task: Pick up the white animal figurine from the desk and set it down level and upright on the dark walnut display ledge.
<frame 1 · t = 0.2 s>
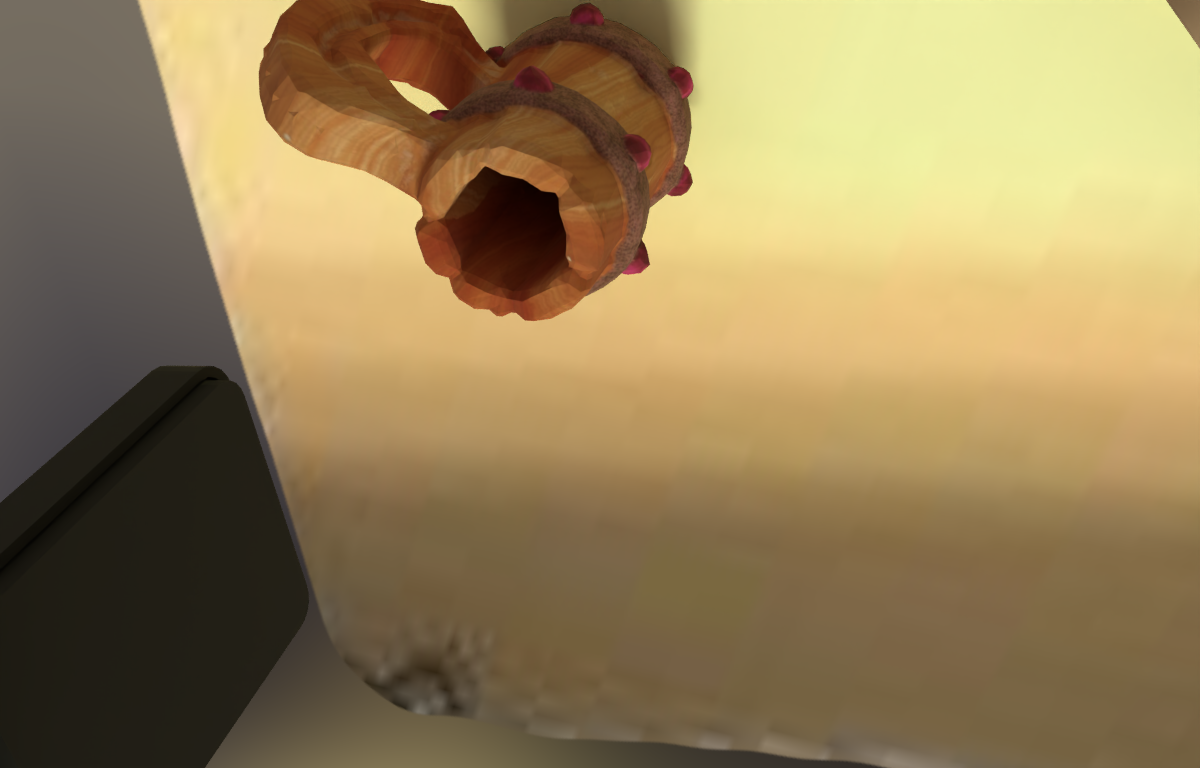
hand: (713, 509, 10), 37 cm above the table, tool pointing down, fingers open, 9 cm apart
mug: (558, 60, 47), on the table
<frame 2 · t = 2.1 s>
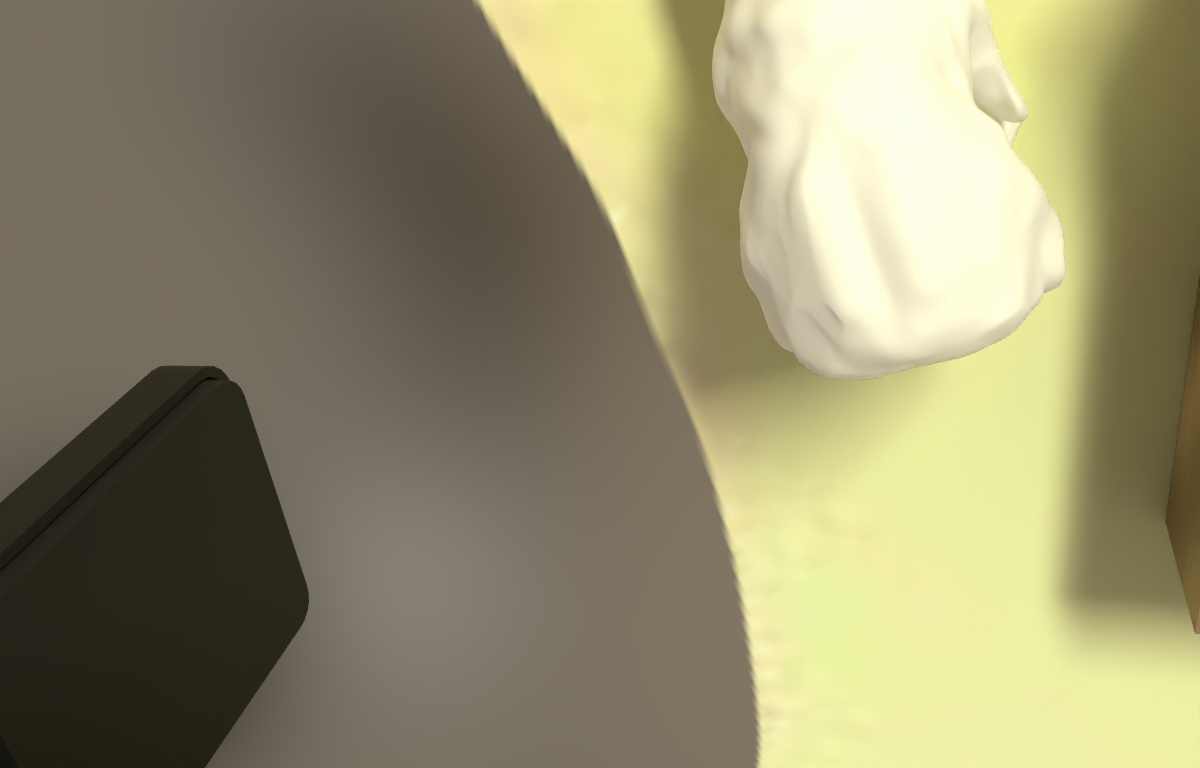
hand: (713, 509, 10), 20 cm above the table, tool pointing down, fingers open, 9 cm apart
white animal figurine: (857, 17, 27), on the table
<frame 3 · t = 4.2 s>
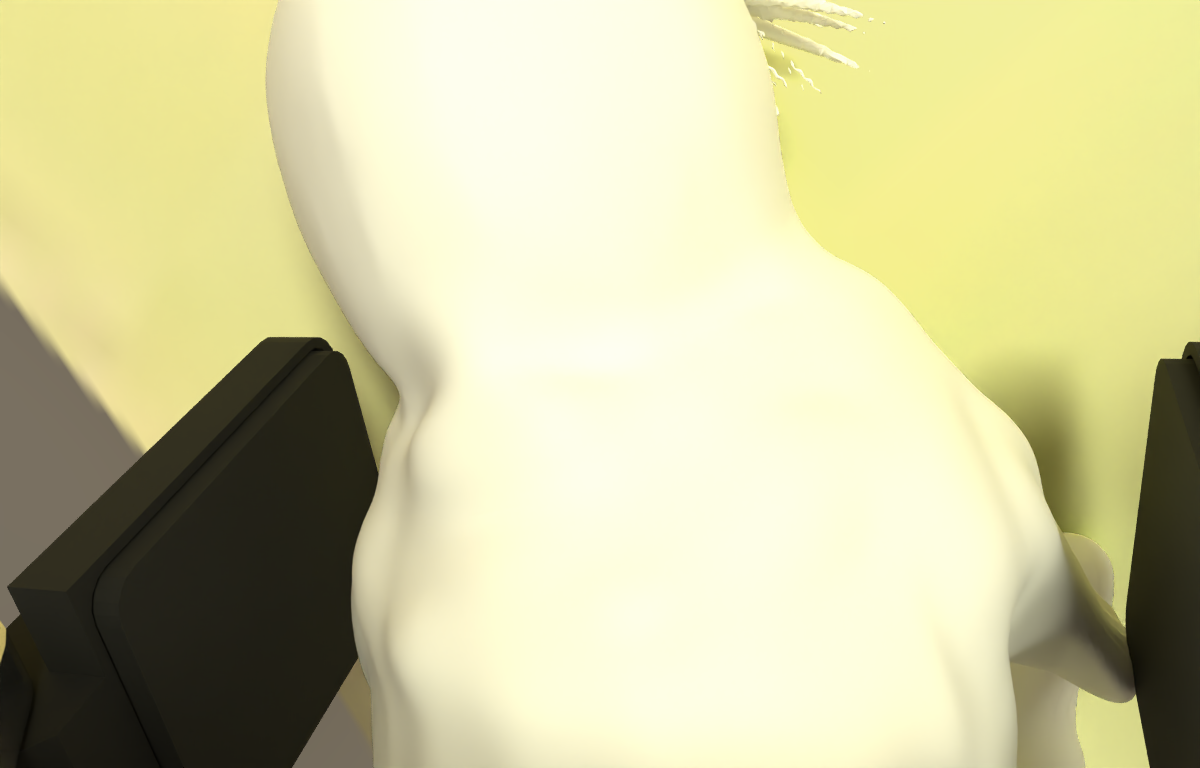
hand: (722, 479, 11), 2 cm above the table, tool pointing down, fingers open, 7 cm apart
white animal figurine: (752, 367, 13), on the table, touching gripper
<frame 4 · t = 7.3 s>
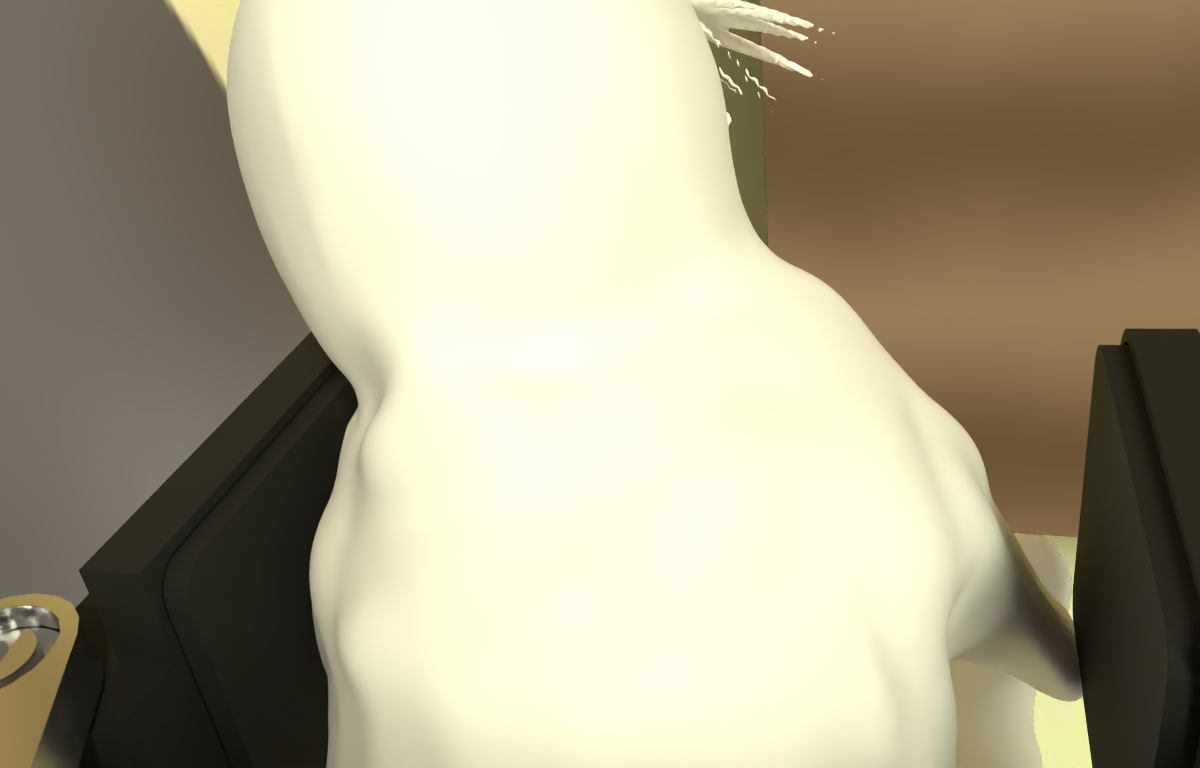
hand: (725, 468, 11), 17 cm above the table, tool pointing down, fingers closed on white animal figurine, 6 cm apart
display ledge: (1072, 72, 24), on the table
white animal figurine: (719, 369, 13), point 15 cm above the table, touching gripper
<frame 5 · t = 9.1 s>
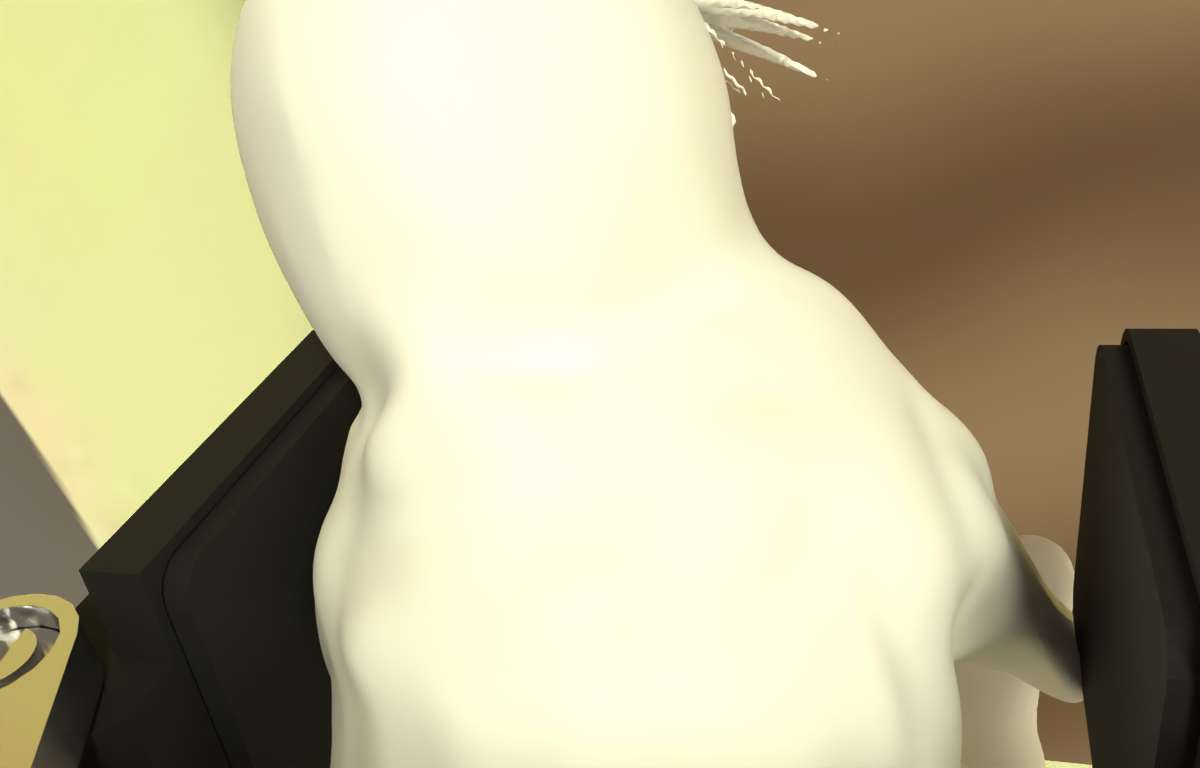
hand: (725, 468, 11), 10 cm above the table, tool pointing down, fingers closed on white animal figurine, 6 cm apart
display ledge: (817, 142, 19), on the table
white animal figurine: (722, 369, 13), point 8 cm above the table, touching gripper
when the fingers open (8 cm above the table, at t = 10.3 s): white animal figurine drops 2 cm, resting on display ledge.
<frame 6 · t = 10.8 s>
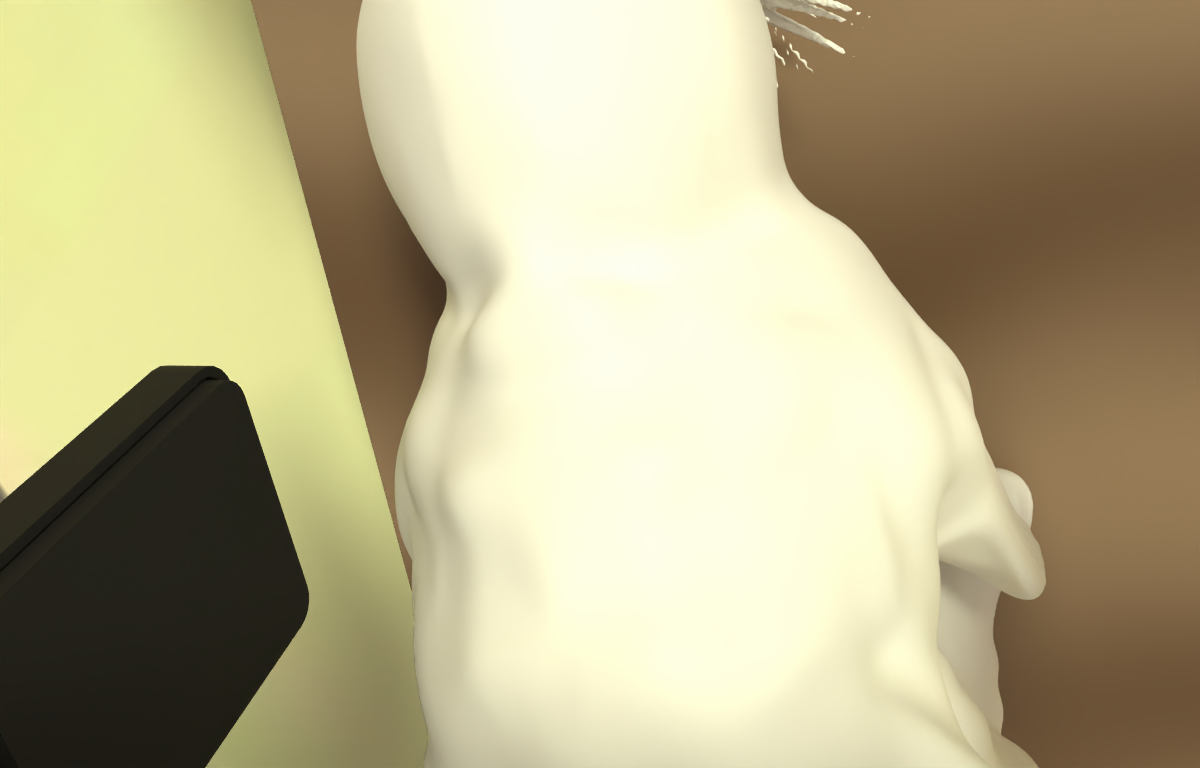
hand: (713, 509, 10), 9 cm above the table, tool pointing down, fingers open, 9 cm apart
display ledge: (809, 168, 18), on the table
white animal figurine: (736, 311, 14), point 4 cm above the table, touching display ledge
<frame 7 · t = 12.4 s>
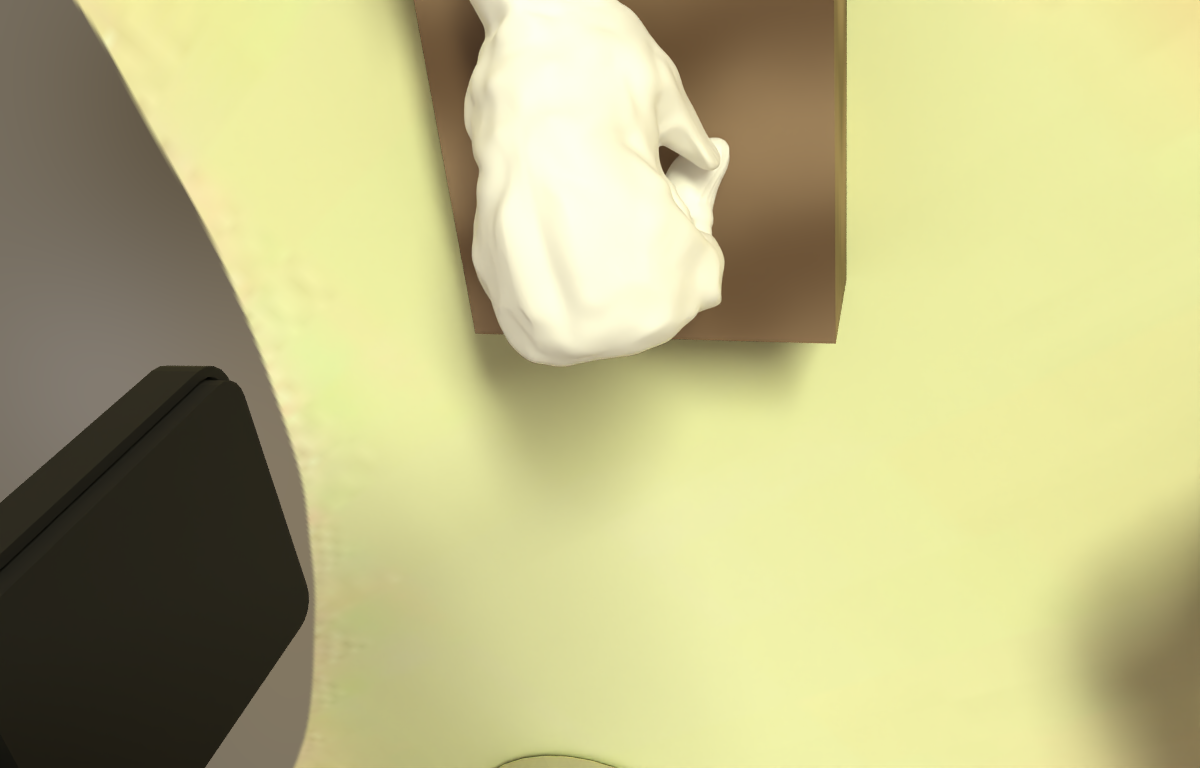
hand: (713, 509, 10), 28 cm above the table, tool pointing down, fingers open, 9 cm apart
display ledge: (653, 21, 36), on the table
white animal figurine: (606, 69, 33), point 4 cm above the table, touching display ledge
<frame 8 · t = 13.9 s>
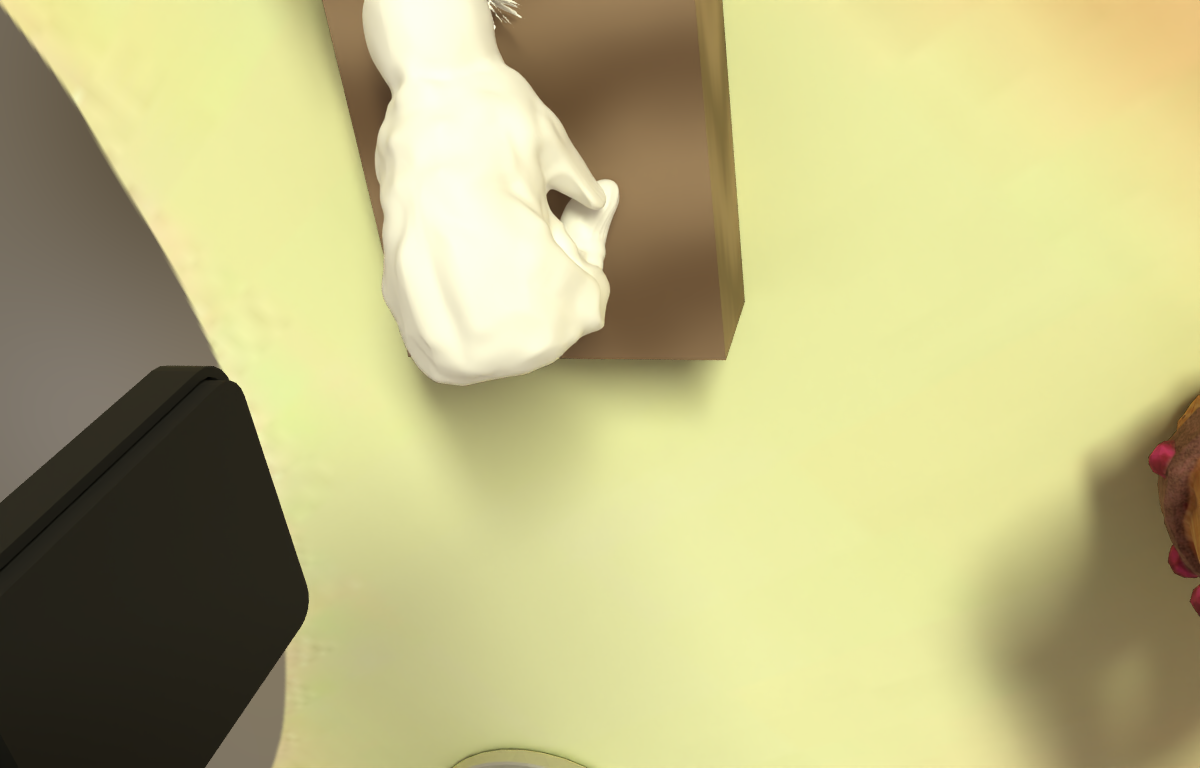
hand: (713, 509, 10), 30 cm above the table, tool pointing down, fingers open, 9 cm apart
display ledge: (558, 74, 40), on the table
white animal figurine: (508, 121, 37), point 4 cm above the table, touching display ledge
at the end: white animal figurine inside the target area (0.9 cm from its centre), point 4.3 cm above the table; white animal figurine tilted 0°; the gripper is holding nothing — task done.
